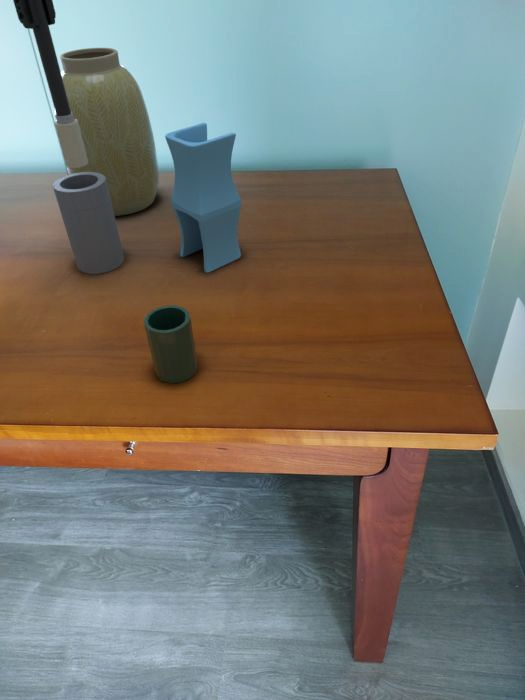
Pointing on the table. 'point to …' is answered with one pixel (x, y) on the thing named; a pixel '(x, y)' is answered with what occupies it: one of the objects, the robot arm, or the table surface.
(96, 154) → the vase
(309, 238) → the table surface
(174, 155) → the blue bent piece
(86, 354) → the table surface
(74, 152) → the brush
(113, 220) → the cup
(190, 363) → the holder
